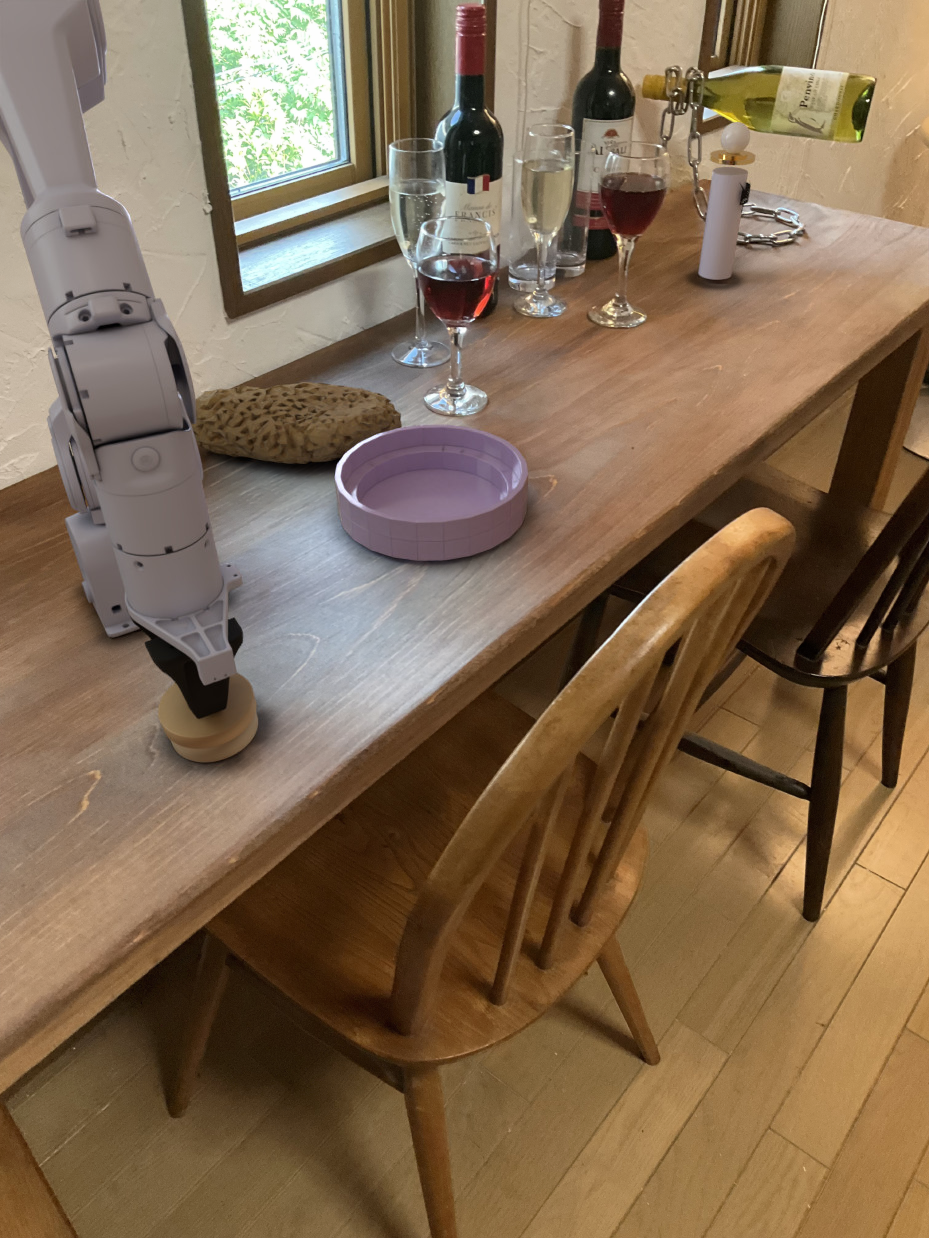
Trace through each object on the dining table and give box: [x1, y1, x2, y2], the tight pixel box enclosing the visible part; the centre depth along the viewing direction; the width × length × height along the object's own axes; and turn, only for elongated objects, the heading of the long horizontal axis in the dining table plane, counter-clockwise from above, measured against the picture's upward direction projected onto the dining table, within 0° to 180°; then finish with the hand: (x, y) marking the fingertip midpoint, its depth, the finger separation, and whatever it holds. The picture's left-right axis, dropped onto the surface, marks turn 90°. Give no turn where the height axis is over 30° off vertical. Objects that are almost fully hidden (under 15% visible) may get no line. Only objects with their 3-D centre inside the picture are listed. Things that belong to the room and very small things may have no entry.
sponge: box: [187, 381, 403, 465], centre depth 96 cm, size 13×8×20 cm
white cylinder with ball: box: [697, 121, 756, 281], centre depth 128 cm, size 6×6×20 cm
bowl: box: [333, 424, 529, 562], centre depth 87 cm, size 17×17×4 cm
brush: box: [157, 672, 259, 763], centre depth 64 cm, size 6×6×7 cm
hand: (203, 698), depth 64 cm, fingers closed on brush, 2 cm apart
